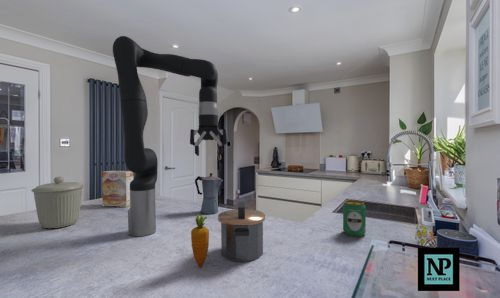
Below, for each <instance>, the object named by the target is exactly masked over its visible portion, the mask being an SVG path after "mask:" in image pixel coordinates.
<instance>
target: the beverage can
mask: <svg viewBox="0 0 500 298" xmlns="http://www.w3.org/2000/svg"><path fill="white" fill-rule="evenodd" d="M366 207H367V206H366V205H365V202H363V201H360V200H351V199H350V200H346V201H344V203H343V205H342V230H343V232H344V235H346V236H350V237H354V238H359V237H361V238H362V237H363V236H365V234H366V224H367V223H366V220H367V219H366V217H367V214H366V211H367V210H366Z"/></svg>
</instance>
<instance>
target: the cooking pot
mask: <svg viewBox="0 0 500 298" xmlns="http://www.w3.org/2000/svg"><path fill="white" fill-rule="evenodd" d="M263 222H264V221H263ZM263 222H261V223H259V224H255V225H249V226H231V225H226V224H223V223H221V222H220V225H221V226H220V227H221V228H220V229H221V230H220V232H221V233H220V234H221V239H220V240H221V244H220V245H221V246H220V248H221V257H223V258H224V259H225V260H227V261H231V262H235V263H248V262H252V261H255V260H258V259H259V258H261V257H262V256H264V227H263V226H264V223H263Z"/></svg>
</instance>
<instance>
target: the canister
mask: <svg viewBox="0 0 500 298" xmlns="http://www.w3.org/2000/svg"><path fill="white" fill-rule="evenodd" d="M84 187H85V185H84V184H82V183H80V182H76V181H65V179H64V177H63V176H55V177H54V178H53V182H50V183H43V184H40V185H37V186H36V187H34V188H32V189H31V190H30V191H31V192H32V193H33V196H34V203H35V209H36V215H37V220H38V224H39V226H40V227H41V228H43V229H46V228H48V230H49V229H51V228H55V229H60V227H62V228H65V226H66V227H70V226H73V225H74V224H76V223H77V222H78V220H79V218H80V212H81V204H82V195H83V194H82V193H83V189H84ZM69 225H70V226H69Z"/></svg>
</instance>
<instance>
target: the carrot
mask: <svg viewBox="0 0 500 298" xmlns="http://www.w3.org/2000/svg"><path fill="white" fill-rule="evenodd" d="M207 218H208V216H204V215H200V214H196V217H195V223H196V225H197V226H195V227H194V228H192V229H191V232H190V238H191V241H190V242H191V250H192V254H193V258H194V260H195V262H196V264H197V266H198V267H199V268H202V267H204V266H203V265H204V264H205V262H206V259H207V256H208V253H209V252H208V251H209V246H210V243H209V241H210V240H209V239H210V231H209V228H208V227H206V226H204V225H205V221H206V219H207Z"/></svg>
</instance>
